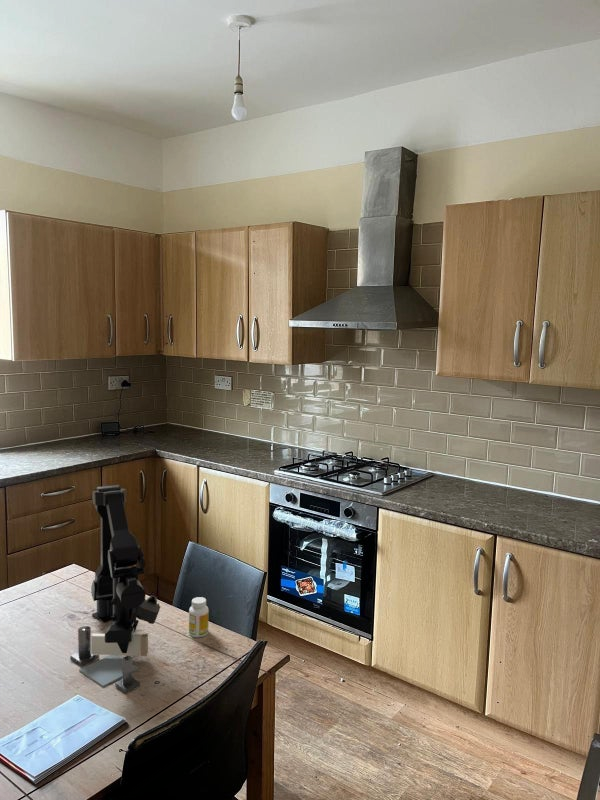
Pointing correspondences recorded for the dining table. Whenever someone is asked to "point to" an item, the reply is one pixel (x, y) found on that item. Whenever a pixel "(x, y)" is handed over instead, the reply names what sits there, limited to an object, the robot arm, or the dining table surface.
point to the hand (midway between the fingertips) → (124, 652)
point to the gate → (102, 648)
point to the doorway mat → (105, 670)
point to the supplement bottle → (198, 617)
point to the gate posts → (86, 657)
